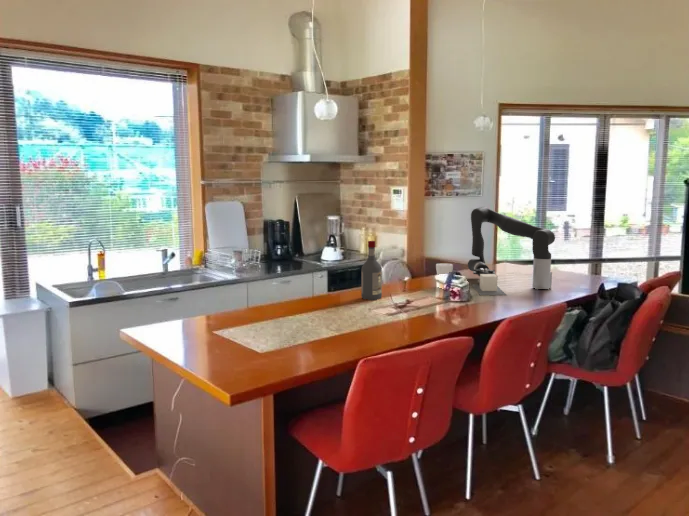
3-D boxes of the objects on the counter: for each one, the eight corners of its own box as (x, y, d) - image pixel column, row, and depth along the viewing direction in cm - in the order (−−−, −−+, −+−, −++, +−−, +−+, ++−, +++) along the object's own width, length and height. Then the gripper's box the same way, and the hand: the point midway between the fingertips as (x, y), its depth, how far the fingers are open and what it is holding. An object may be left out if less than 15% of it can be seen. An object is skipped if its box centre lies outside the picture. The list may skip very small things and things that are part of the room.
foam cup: (432, 286, 335) (432, 264, 334) (445, 285, 339) (446, 263, 337) (441, 289, 327) (442, 266, 325) (455, 287, 331) (456, 265, 329)
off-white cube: (480, 273, 326) (482, 276, 318) (494, 274, 326) (497, 276, 318) (479, 288, 328) (482, 290, 320) (494, 288, 327) (497, 290, 319)
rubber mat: (471, 285, 338) (471, 284, 338) (495, 285, 337) (495, 284, 337) (480, 295, 310) (480, 294, 310) (506, 295, 309) (506, 294, 309)
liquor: (359, 299, 303) (359, 241, 298) (367, 295, 311) (367, 239, 306) (375, 300, 298) (375, 242, 294) (383, 297, 306) (383, 240, 302)
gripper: (470, 262, 344) (475, 267, 327) (492, 263, 343) (499, 268, 326) (469, 275, 345) (474, 281, 328) (492, 275, 344) (498, 281, 327)
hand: (486, 274), depth 327 cm, fingers closed
